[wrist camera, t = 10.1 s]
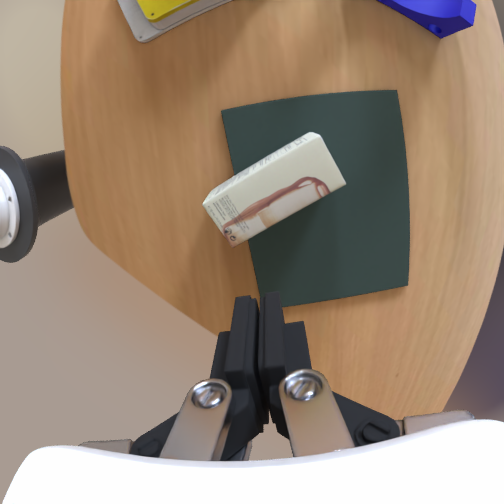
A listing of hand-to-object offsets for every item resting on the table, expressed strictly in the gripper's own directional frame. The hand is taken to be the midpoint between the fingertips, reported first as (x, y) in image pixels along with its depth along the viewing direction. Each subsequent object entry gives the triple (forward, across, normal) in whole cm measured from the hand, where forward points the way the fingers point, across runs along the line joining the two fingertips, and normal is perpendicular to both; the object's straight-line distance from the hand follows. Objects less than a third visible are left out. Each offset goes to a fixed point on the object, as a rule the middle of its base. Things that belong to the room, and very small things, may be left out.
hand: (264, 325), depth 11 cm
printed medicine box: (+14, +4, -1) cm, 15 cm away
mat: (+17, -6, 0) cm, 18 cm away
